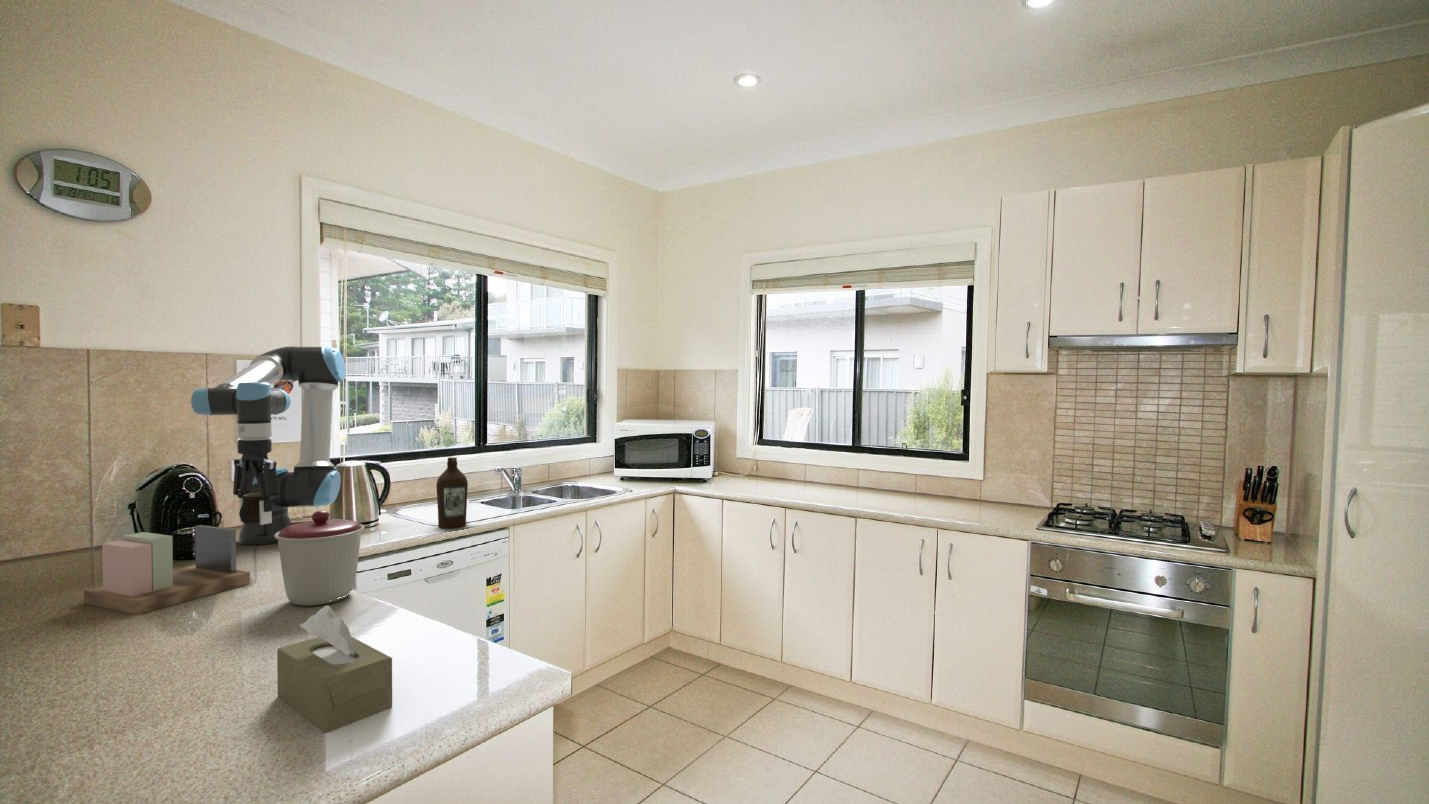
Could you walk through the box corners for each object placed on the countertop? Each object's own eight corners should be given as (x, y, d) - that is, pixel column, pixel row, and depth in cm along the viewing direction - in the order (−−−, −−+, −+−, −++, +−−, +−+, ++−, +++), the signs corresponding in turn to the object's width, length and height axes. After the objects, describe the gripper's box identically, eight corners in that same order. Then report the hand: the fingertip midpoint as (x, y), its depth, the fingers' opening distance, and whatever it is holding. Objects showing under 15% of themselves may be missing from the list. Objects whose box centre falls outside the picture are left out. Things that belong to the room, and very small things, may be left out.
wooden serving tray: (199, 575, 170) (199, 564, 170) (249, 583, 162) (249, 572, 162) (83, 603, 147) (83, 590, 147) (136, 614, 140) (136, 601, 140)
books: (144, 581, 154) (143, 532, 154) (172, 586, 150) (172, 535, 150) (102, 590, 147) (102, 539, 147) (131, 596, 143) (131, 543, 143)
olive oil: (434, 524, 235) (433, 457, 234) (464, 521, 240) (464, 455, 240) (439, 530, 226) (439, 459, 225) (470, 526, 232) (470, 458, 231)
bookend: (200, 566, 167) (200, 525, 167) (236, 572, 162) (235, 529, 162) (195, 567, 166) (195, 525, 166) (231, 573, 161) (230, 530, 161)
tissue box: (276, 697, 103) (275, 600, 103) (340, 675, 111) (340, 585, 111) (325, 735, 92) (325, 626, 92) (393, 708, 100) (393, 608, 99)
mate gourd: (243, 521, 176) (243, 485, 175) (276, 519, 178) (276, 484, 178) (234, 527, 169) (234, 489, 169) (268, 525, 172) (268, 488, 171)
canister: (314, 616, 139) (313, 520, 139) (255, 607, 145) (254, 515, 145) (381, 592, 157) (381, 506, 156) (326, 584, 162) (326, 502, 162)
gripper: (215, 438, 173) (217, 521, 174) (265, 441, 166) (267, 528, 167) (244, 436, 180) (245, 516, 181) (293, 439, 173) (295, 522, 174)
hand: (256, 522), depth 174 cm, fingers closed on mate gourd, 7 cm apart
